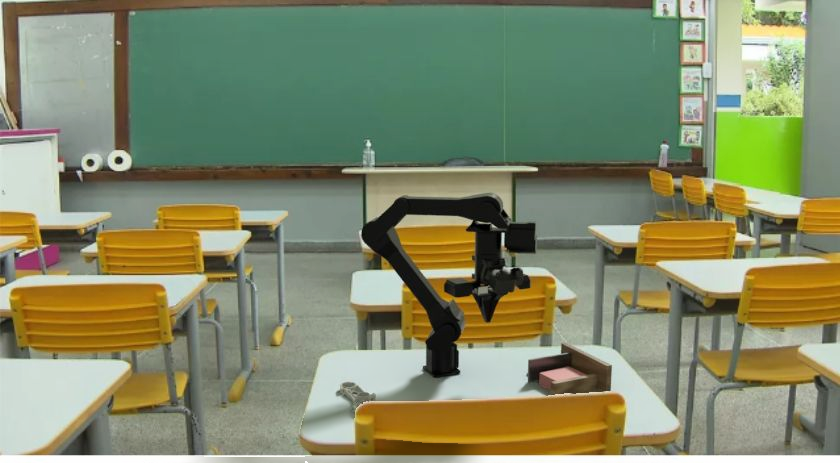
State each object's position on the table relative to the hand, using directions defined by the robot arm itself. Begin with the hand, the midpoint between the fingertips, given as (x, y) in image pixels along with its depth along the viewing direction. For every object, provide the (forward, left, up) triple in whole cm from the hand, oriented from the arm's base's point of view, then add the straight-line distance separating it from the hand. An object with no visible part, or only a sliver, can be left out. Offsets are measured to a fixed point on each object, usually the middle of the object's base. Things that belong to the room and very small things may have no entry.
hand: (487, 322), depth 165 cm
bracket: (-31, -2, -13) cm, 34 cm away
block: (+11, -12, -12) cm, 21 cm away
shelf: (+12, -12, -12) cm, 21 cm away
